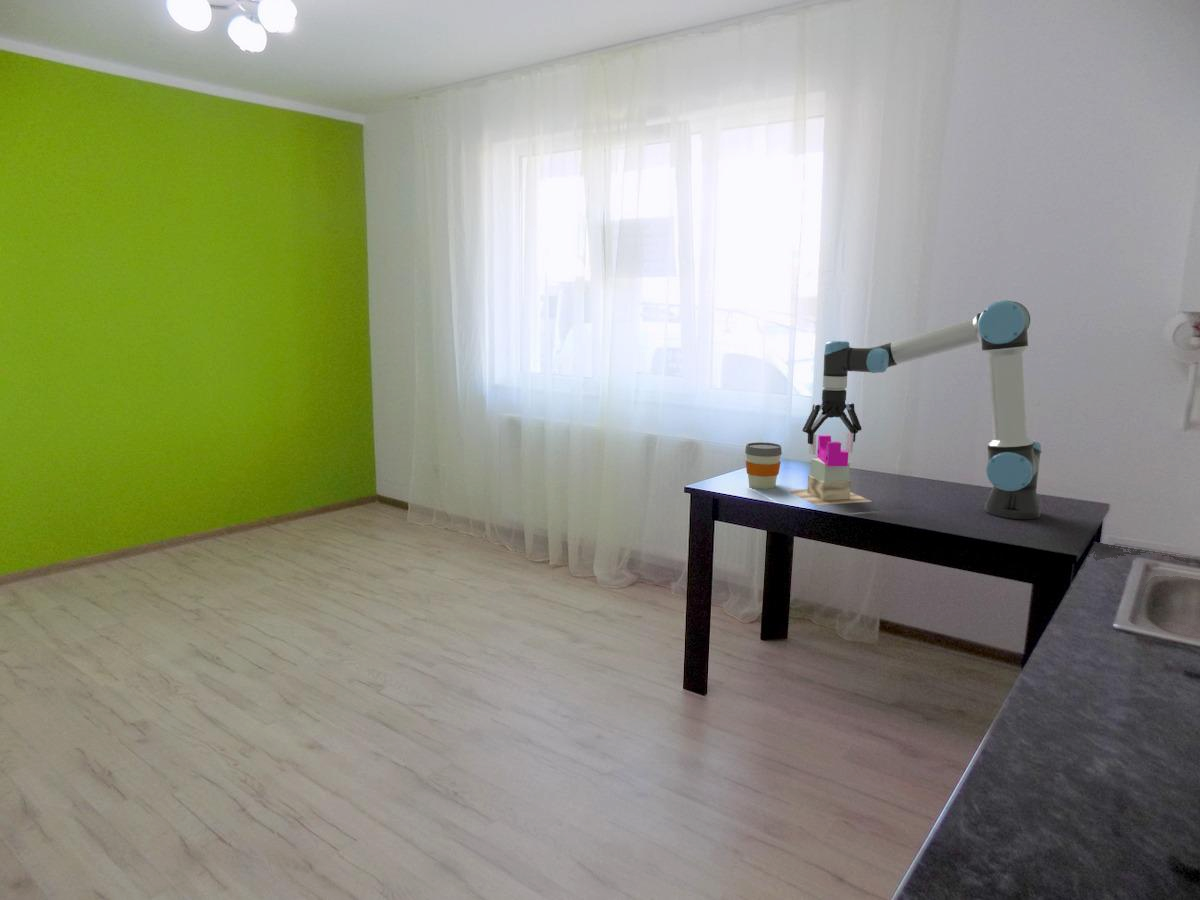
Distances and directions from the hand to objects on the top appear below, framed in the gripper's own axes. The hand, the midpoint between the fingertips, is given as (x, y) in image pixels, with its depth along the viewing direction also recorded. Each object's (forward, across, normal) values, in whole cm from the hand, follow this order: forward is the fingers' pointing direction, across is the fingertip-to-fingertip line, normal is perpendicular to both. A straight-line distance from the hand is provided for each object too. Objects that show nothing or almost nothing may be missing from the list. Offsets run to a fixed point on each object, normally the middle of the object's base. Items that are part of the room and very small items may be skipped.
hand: (830, 452), depth 249 cm
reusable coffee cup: (+15, +15, -19) cm, 29 cm away
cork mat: (+15, 0, 0) cm, 15 cm away
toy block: (+3, 0, +1) cm, 3 cm away
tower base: (+15, 0, 0) cm, 15 cm away
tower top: (+9, 0, 0) cm, 9 cm away
